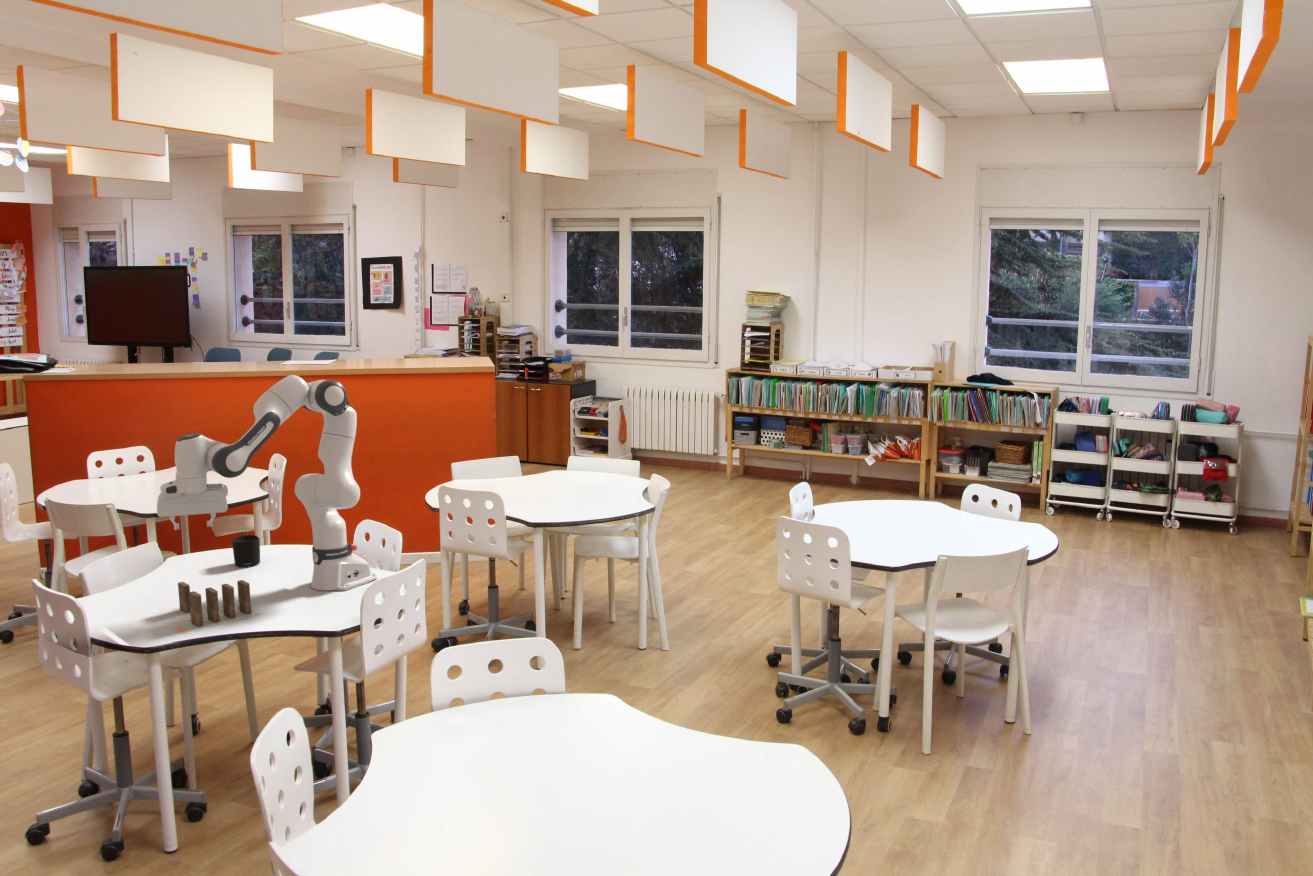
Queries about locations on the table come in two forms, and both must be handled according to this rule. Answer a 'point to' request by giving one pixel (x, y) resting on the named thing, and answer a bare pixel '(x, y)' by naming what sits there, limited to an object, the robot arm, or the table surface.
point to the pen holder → (246, 550)
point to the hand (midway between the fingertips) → (193, 528)
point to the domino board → (209, 622)
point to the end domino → (184, 597)
